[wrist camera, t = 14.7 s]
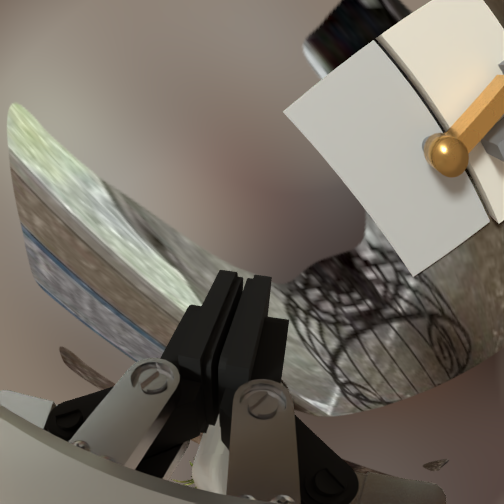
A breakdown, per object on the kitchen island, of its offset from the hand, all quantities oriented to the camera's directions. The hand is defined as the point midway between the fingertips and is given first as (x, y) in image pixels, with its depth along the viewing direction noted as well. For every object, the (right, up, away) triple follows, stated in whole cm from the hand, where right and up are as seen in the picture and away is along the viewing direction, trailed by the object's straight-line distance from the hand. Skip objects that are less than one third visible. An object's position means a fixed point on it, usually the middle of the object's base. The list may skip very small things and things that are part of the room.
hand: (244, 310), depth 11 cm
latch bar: (+21, +14, +13) cm, 29 cm away
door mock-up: (+21, +15, +17) cm, 31 cm away
